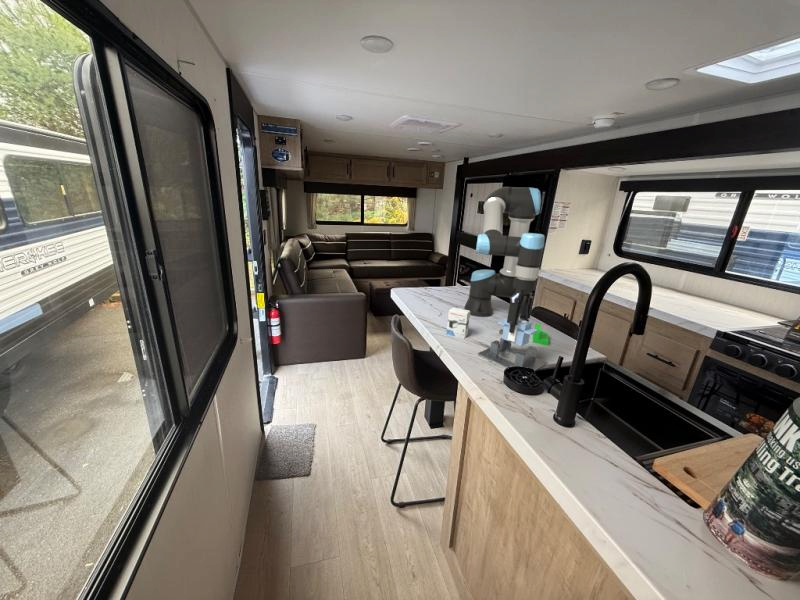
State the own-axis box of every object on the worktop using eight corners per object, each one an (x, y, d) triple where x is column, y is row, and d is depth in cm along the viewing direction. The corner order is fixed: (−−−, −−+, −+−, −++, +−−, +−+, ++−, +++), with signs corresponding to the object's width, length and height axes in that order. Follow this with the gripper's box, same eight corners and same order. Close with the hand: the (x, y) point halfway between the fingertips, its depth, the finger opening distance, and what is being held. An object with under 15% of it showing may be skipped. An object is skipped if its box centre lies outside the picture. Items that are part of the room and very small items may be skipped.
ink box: (445, 334, 137) (448, 309, 133) (449, 331, 141) (452, 307, 137) (464, 339, 133) (467, 313, 130) (467, 335, 137) (470, 310, 134)
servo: (503, 333, 121) (506, 313, 119) (534, 345, 112) (539, 323, 110) (496, 336, 118) (499, 315, 116) (528, 348, 109) (532, 325, 106)
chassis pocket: (500, 344, 130) (502, 332, 128) (547, 363, 115) (550, 349, 114) (477, 354, 120) (479, 341, 118) (526, 376, 105) (528, 361, 104)
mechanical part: (547, 346, 131) (551, 328, 129) (532, 343, 133) (535, 325, 131) (547, 336, 142) (550, 320, 139) (533, 333, 144) (536, 317, 142)
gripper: (528, 273, 117) (518, 330, 123) (502, 278, 105) (493, 340, 112) (547, 277, 111) (536, 336, 118) (523, 283, 100) (511, 348, 106)
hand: (515, 338), depth 115 cm, fingers closed on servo, 5 cm apart
